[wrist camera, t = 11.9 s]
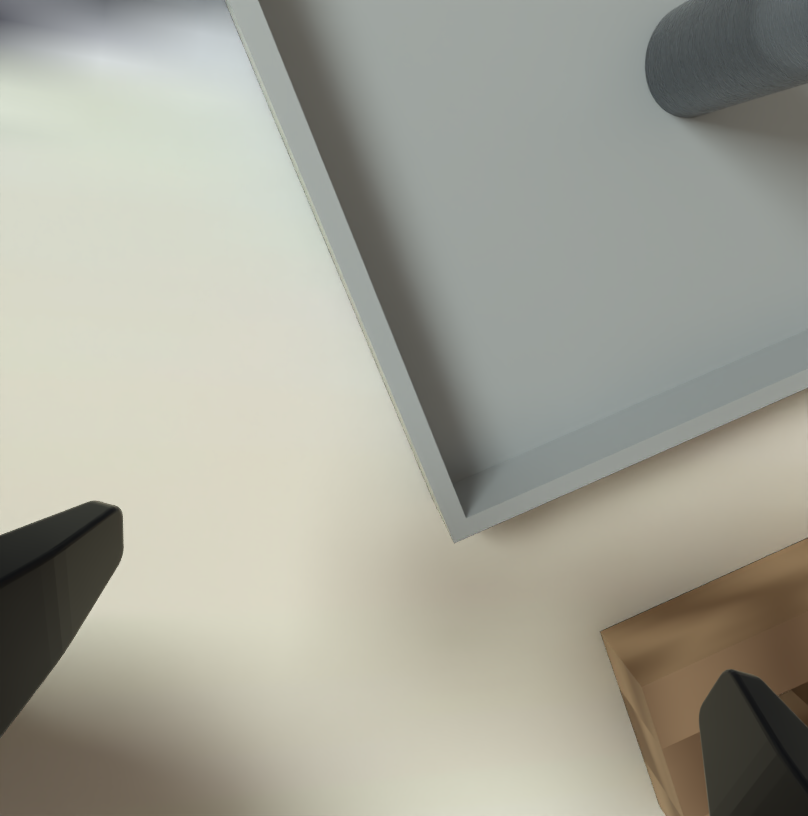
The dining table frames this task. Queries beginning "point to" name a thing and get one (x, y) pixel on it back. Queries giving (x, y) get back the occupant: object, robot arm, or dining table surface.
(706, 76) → the copper collared peg
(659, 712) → the socket block
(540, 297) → the tray
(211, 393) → the dining table surface
